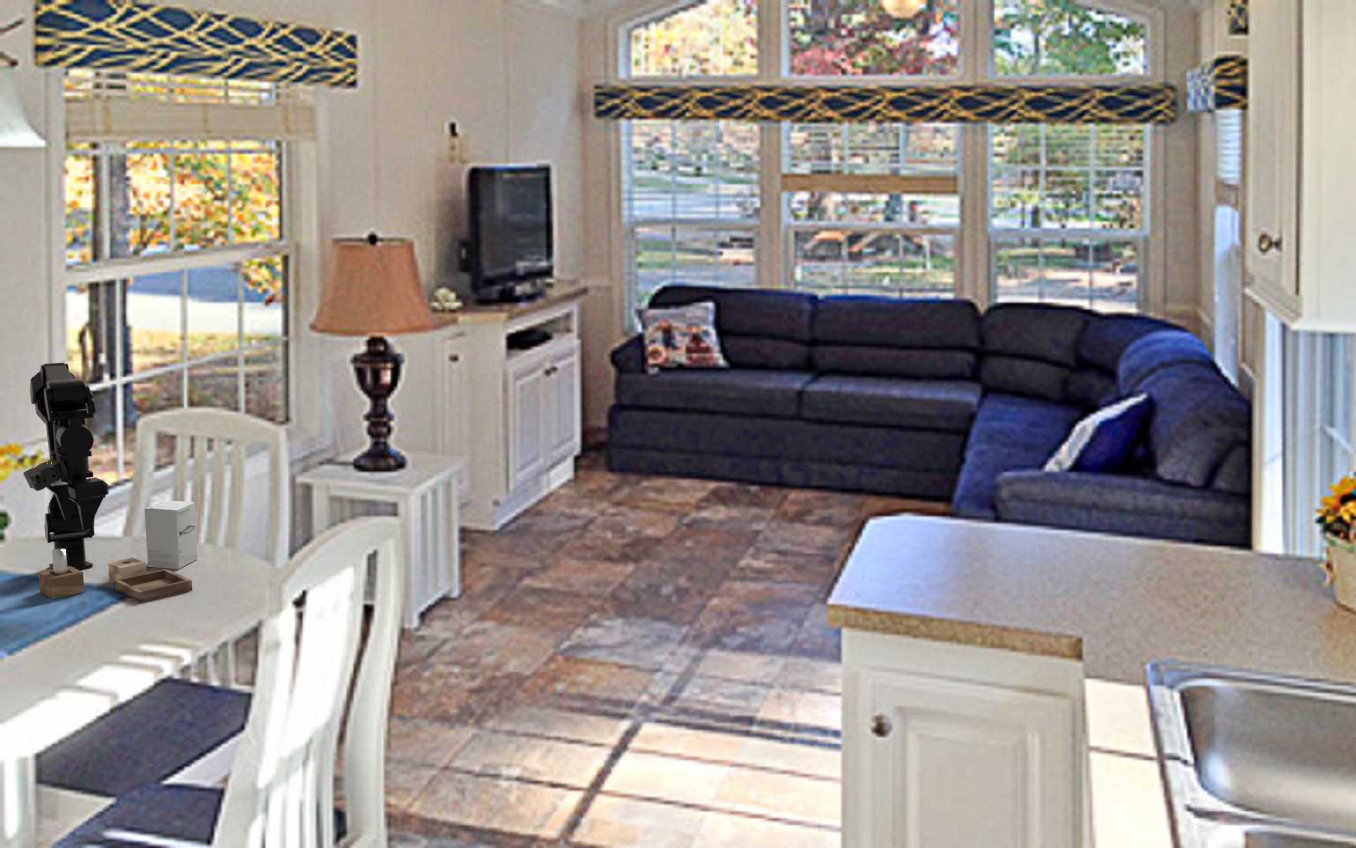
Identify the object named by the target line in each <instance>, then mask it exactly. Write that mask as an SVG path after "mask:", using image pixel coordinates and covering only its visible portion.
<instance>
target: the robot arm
mask: <svg viewBox="0 0 1356 848" xmlns="http://www.w3.org/2000/svg"><path fill="white" fill-rule="evenodd" d="M39 369H40V370H39V371H38V372H37V373H36V374H35V375H34V376H32V377H31V378H30V379H29V380H30V382H29V395H30V404H31V405H34V407H35V408H34V409H35V414H36V415H37V417H38V418H39V419H40V420H41V421H42V422H43V424H44V425H45V430H46V437H47V438H46V439H47V444H48V445H47V446H48V454H49V459H48V460H47V461H48V462H46V461H45V462H41V463H39V464H37V465H36V466H37V467H35V466H34V467H35V468H33V467H31V468H29V469H27V470H24V472H23V477H24V478H25V480H26V482H27V484H28V486H29V488H30V489H33V490H35V492H40V491H41V490H44V489H47V490H49V491H50V492H52V493H53V494H52V497H51V498H50V500H49V502H48V506H47V513H44V534H45V535H44V536H45V540H46V542H47V544H51V543H53V547H54V549H58V548H64V549H66V560H67V566H71V567H73V568H75V569H77V570H82V569H87V568H91V567H93V566H94V564H93V563H92V562H91V561H90V562H89V561H88V560H87V557H86V544H85V539H92V538H93V536H95V517H96V515H97V512H98V510H99V509H100V506H101V504H102V503H103V500H104V499H105V498H107V497H106V496H107V495H109V493H110V492H109V491H110V490H109V489H110V488H109V484H108V482H105V481H104V480H103V479H100V478H99V477H94V471H92V470H90V466H89V457H92V456H93V452H92V448H93V446H94V442H95V441H94V435H93V434H92V432H91V431H90V429H89V428H88V427H87V425H86V424H87V423H86V422H87V421H86V420H87V419H94V414H95V413H96V405H95V400H94V396H93V395H94V394H93V391H92V389H90V386H89V385H86V383H85V381H84V380H83V379H81V378H76V377H75V374H73V373H72V372H71V371H70V370H69V369H70V367H69V364H68V363H65V362H52V363H51V362H50V363H43V364H41V365H40V368H39ZM51 462H52V464H51ZM47 463H48V464H47ZM54 549H53V550H54ZM48 567H49V568H52V569H53V562H52V563H49V565H48Z"/></svg>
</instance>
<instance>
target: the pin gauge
mask: <svg viewBox="0 0 1356 848" xmlns="http://www.w3.org/2000/svg"><path fill="white" fill-rule="evenodd" d="M51 555H52V563H53V568H52V569H54V576H58V575H63V574H68V572H67V560H66V549H64V548H58V549H52V550H51Z"/></svg>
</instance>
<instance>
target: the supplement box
mask: <svg viewBox="0 0 1356 848" xmlns="http://www.w3.org/2000/svg"><path fill="white" fill-rule="evenodd" d="M196 521H197V520H196V507H195V501H181V500H178V501H177V500H163V501H159V502H158V503H155V504H153V505H150V506H148V507H146V508H144V522H145V536H146V538H145V539H146V553H147V554H146V556H147V557H146V558H147V567H148V568H157V569H168V570H180V569H182V568H183V567H185V566H187V565H188V564H190V563H192V562H195V561H197V560H198V543H197V541H198V540H197V522H196Z"/></svg>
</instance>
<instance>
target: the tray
mask: <svg viewBox="0 0 1356 848" xmlns="http://www.w3.org/2000/svg"><path fill="white" fill-rule="evenodd" d="M113 585H114V591H116V592H118V593H120V594H121V595H124V596H126V597H128V598H129V599H132V600H134V601H136V602H138V603H142V602H147V601H152V600H157V599H161V598H164V597H170V596H173V595H178V594H182V593H186V592H190V591H193V580H192V579H190V578H188V577H185V576H183V575H180V574H178V573H177V572H174V571H172V570H171V569H168V568H162V569H159V570H155V571H149V572H145V574H140V575H135V576H131V577H126V578H122V579H117V580H114V583H113Z"/></svg>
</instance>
